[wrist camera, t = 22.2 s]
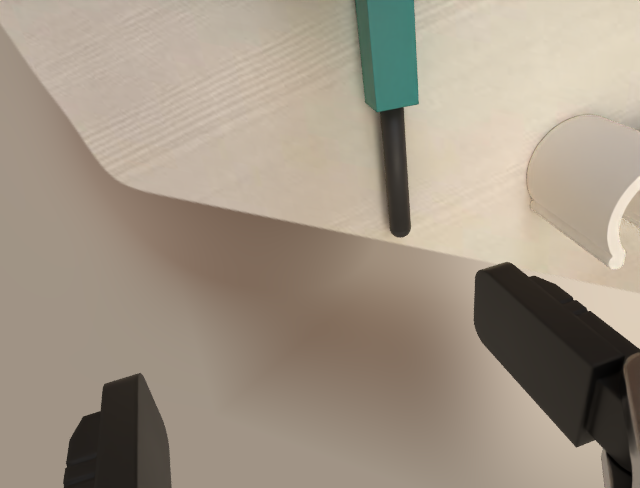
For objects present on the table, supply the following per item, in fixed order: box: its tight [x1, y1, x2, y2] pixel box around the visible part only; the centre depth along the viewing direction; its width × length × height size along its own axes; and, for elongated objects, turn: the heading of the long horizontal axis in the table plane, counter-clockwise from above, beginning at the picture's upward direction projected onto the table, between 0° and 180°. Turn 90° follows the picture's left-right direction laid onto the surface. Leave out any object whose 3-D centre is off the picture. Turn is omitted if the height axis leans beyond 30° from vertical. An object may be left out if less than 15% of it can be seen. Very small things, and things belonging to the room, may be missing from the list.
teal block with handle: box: [355, 0, 419, 237], centre depth 44 cm, size 22×4×4 cm, turn 8°
